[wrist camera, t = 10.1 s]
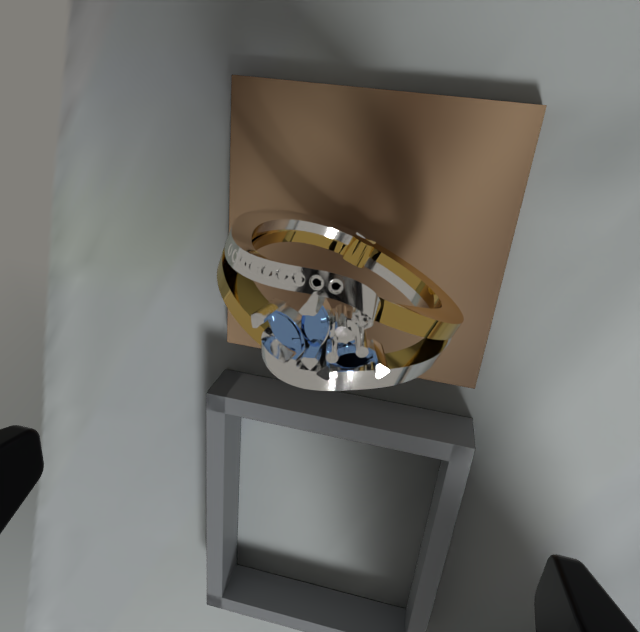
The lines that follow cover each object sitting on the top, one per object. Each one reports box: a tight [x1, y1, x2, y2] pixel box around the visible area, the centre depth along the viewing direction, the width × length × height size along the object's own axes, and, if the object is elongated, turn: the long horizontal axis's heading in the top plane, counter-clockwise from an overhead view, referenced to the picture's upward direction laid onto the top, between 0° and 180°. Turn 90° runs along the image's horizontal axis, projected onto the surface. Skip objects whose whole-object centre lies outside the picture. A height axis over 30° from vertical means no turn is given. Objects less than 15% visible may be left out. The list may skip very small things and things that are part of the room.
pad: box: [227, 75, 547, 389], centre depth 18 cm, size 10×10×1 cm
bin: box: [206, 369, 475, 632], centre depth 23 cm, size 11×13×2 cm
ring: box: [217, 209, 464, 391], centre depth 14 cm, size 7×3×8 cm, turn 65°
